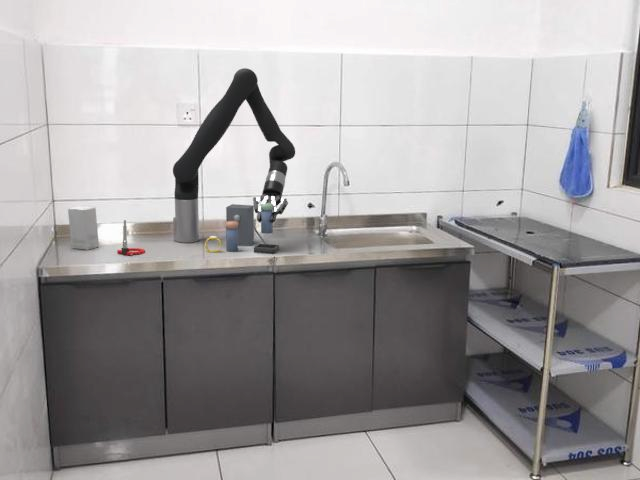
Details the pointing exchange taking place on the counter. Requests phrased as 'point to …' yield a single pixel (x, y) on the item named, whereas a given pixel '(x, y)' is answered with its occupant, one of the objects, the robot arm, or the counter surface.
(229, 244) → the terracotta cap cartridge
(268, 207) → the green cap cartridge
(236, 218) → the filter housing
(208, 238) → the watch
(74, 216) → the grey paper bag
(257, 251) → the tray
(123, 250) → the tow hook
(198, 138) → the robot arm
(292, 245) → the counter surface
